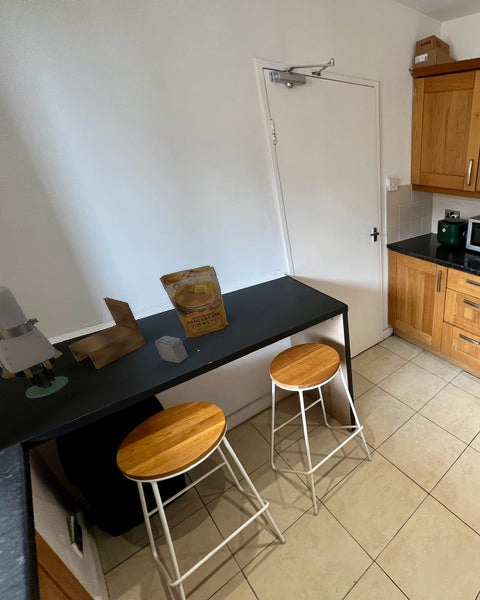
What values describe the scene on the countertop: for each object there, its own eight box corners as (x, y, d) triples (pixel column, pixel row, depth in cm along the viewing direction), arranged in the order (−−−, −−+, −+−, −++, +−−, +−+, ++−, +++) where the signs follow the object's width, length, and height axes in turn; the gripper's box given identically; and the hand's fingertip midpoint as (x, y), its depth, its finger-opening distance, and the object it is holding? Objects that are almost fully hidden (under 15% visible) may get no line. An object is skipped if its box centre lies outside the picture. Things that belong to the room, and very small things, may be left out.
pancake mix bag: (181, 334, 133) (157, 273, 121) (229, 320, 144) (212, 263, 131) (183, 341, 129) (159, 279, 116) (233, 326, 139) (216, 267, 127)
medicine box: (188, 356, 120) (181, 338, 116) (178, 364, 116) (170, 344, 112) (172, 353, 121) (164, 334, 118) (162, 360, 118) (153, 341, 114)
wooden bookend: (97, 369, 113) (72, 324, 105) (76, 361, 118) (50, 317, 109) (146, 343, 127) (127, 302, 119) (126, 337, 132) (106, 297, 123)
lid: (36, 401, 89) (25, 385, 86) (19, 393, 92) (8, 377, 89) (75, 381, 97) (66, 366, 94) (58, 374, 100) (49, 359, 97)
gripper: (43, 314, 93) (71, 364, 101) (-40, 342, 80) (0, 397, 88) (57, 319, 91) (85, 369, 99) (-26, 348, 78) (14, 404, 86)
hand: (44, 382), depth 93 cm, fingers closed on lid
